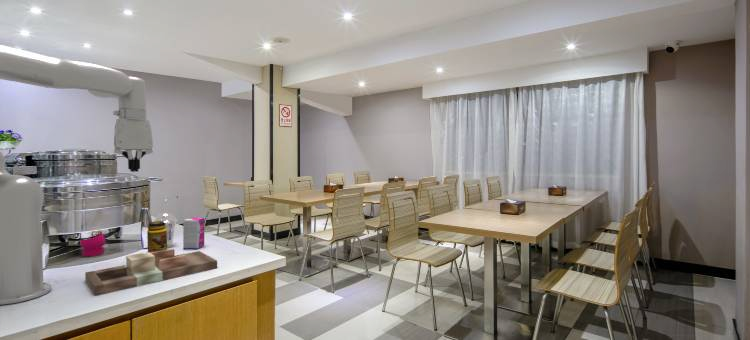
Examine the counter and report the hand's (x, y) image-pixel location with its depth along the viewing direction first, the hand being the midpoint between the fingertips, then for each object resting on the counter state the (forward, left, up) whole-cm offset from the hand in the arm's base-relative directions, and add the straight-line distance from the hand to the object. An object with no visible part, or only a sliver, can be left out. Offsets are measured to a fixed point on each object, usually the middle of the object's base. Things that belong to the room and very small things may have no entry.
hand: (134, 171), depth 120 cm
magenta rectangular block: (-20, +14, -31) cm, 40 cm away
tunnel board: (+10, -12, -31) cm, 35 cm away
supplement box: (+13, +18, -31) cm, 38 cm away
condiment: (+2, +10, -31) cm, 33 cm away
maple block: (+7, -14, -29) cm, 33 cm away
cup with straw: (+2, +21, -31) cm, 38 cm away
